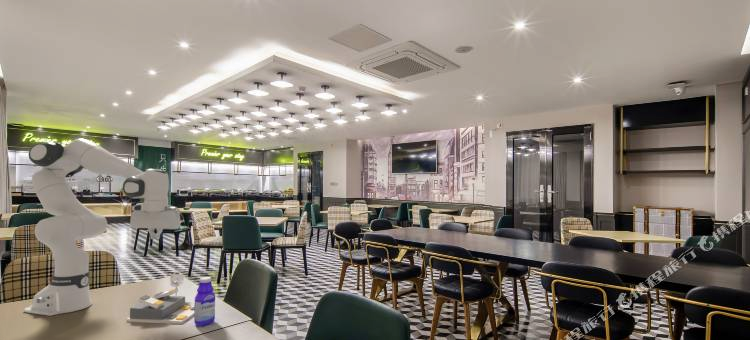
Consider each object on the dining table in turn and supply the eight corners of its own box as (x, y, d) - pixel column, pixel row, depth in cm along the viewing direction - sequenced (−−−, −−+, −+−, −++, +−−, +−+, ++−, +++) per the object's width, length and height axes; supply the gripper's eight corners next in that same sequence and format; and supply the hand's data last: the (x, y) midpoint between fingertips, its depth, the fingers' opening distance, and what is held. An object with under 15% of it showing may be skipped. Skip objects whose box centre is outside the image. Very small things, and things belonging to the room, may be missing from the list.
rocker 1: (137, 301, 139) (139, 298, 139) (145, 298, 143) (146, 294, 143) (156, 308, 139) (158, 305, 139) (163, 305, 143) (164, 301, 143)
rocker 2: (154, 299, 149) (153, 295, 149) (160, 295, 153) (160, 292, 153) (172, 294, 149) (171, 290, 149) (178, 291, 153) (177, 287, 153)
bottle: (199, 328, 134) (201, 281, 134) (191, 324, 137) (192, 278, 137) (217, 321, 140) (218, 276, 140) (208, 318, 143) (210, 274, 143)
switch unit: (126, 321, 138) (126, 306, 138) (153, 306, 154) (154, 293, 154) (181, 323, 137) (182, 308, 137) (203, 308, 153) (204, 294, 153)
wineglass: (176, 302, 160) (177, 275, 160) (165, 301, 161) (166, 274, 162) (186, 298, 166) (186, 271, 166) (175, 296, 167) (176, 270, 167)
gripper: (184, 206, 157) (183, 238, 157) (138, 205, 158) (137, 236, 158) (175, 207, 151) (174, 240, 151) (128, 206, 152) (127, 239, 152)
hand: (155, 238), depth 154 cm, fingers closed
